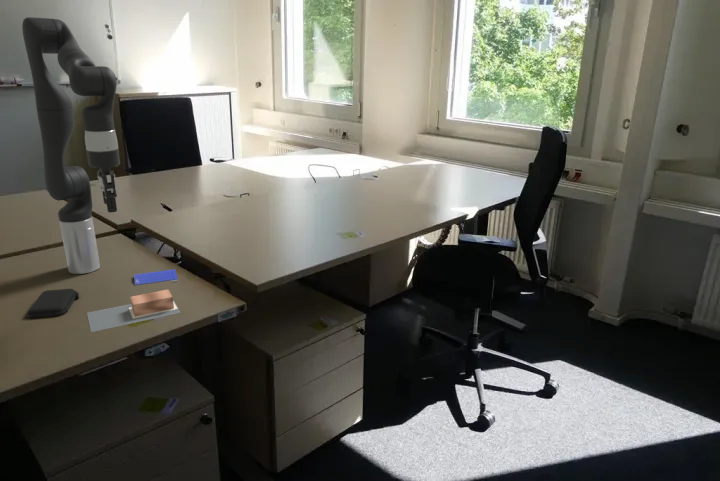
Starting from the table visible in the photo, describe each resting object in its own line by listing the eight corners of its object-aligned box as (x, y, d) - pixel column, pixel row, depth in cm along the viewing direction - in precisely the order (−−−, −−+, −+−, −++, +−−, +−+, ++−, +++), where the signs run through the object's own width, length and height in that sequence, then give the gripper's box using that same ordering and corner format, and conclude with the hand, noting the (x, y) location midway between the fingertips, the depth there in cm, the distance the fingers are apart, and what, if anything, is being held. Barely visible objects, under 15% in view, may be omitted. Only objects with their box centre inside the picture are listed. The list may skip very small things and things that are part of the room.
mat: (87, 314, 143) (86, 312, 143) (171, 297, 154) (171, 295, 154) (91, 334, 134) (90, 331, 134) (180, 314, 144) (180, 312, 144)
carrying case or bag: (69, 318, 142) (83, 295, 155) (67, 308, 141) (82, 285, 154) (25, 322, 140) (43, 298, 153) (23, 312, 139) (41, 288, 152)
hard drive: (134, 284, 160) (177, 278, 165) (133, 274, 167) (175, 268, 172) (135, 288, 160) (178, 282, 165) (134, 278, 168) (175, 272, 172)
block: (169, 300, 151) (168, 289, 149) (174, 308, 146) (172, 296, 145) (132, 308, 146) (130, 296, 145) (135, 316, 141) (133, 304, 140)
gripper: (121, 151, 133) (129, 213, 139) (114, 142, 145) (121, 199, 150) (88, 153, 130) (97, 216, 135) (83, 143, 141) (92, 202, 147)
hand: (110, 207), depth 143 cm, fingers open, 8 cm apart
